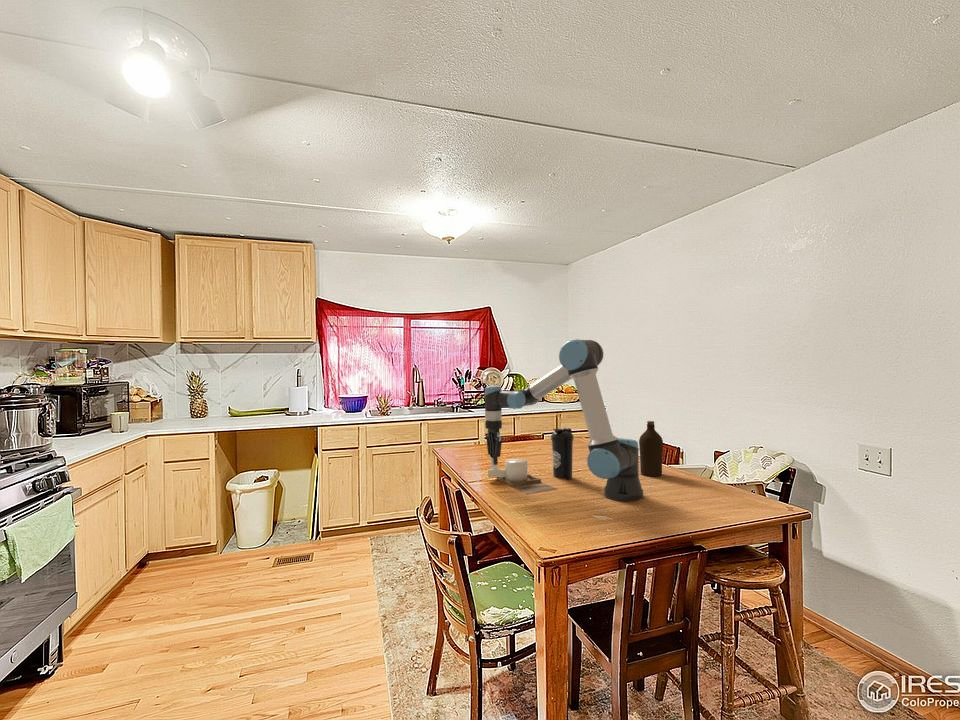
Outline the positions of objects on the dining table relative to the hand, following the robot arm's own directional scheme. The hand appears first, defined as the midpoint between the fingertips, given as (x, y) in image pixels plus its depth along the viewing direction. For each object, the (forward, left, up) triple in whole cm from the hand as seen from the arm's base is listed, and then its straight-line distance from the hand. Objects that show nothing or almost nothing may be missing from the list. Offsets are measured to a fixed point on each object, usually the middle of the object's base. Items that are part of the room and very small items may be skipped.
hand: (494, 471), depth 217 cm
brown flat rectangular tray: (-15, -7, -4) cm, 17 cm away
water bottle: (-12, -29, -4) cm, 32 cm away
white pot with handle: (-7, -3, -3) cm, 8 cm away
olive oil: (-27, -69, -4) cm, 75 cm away
